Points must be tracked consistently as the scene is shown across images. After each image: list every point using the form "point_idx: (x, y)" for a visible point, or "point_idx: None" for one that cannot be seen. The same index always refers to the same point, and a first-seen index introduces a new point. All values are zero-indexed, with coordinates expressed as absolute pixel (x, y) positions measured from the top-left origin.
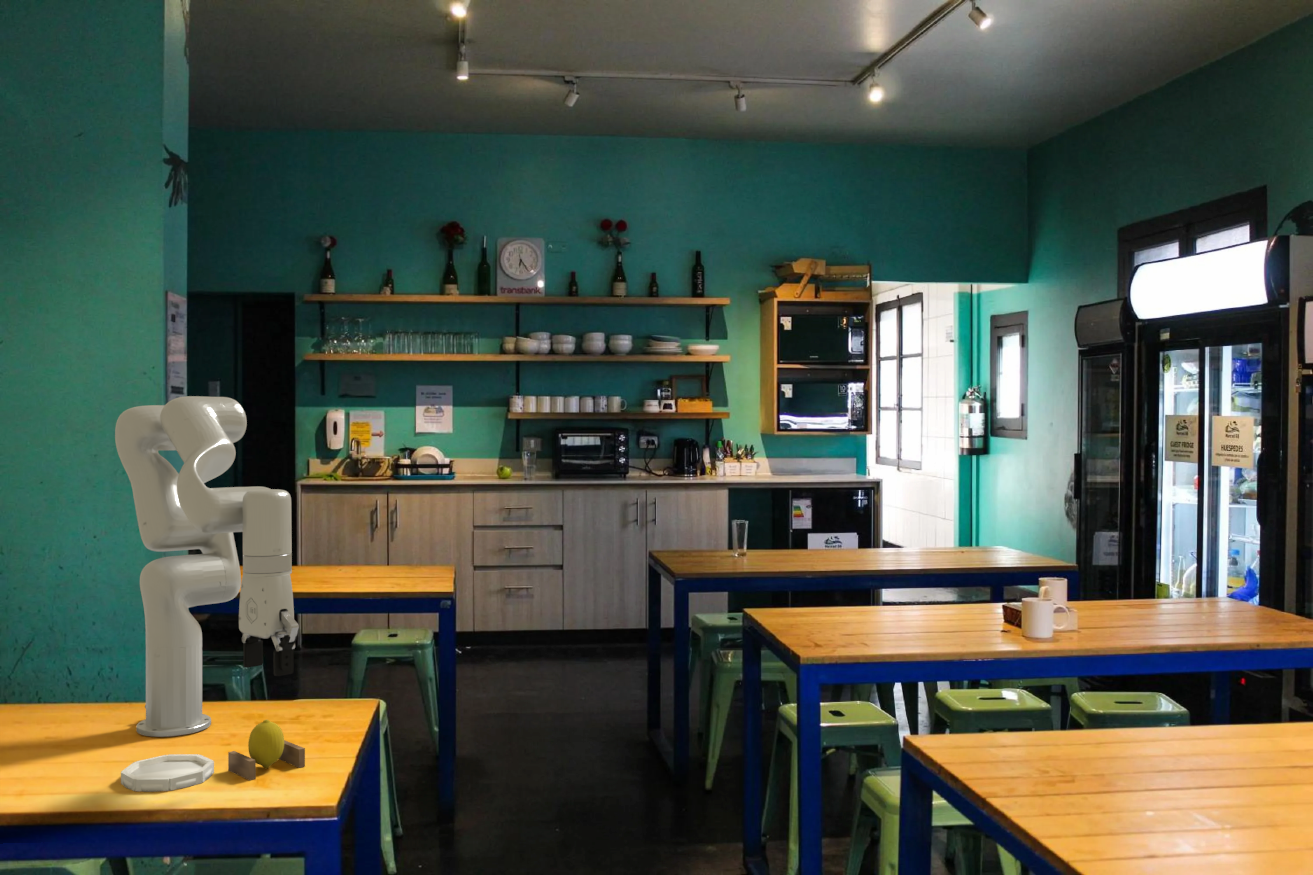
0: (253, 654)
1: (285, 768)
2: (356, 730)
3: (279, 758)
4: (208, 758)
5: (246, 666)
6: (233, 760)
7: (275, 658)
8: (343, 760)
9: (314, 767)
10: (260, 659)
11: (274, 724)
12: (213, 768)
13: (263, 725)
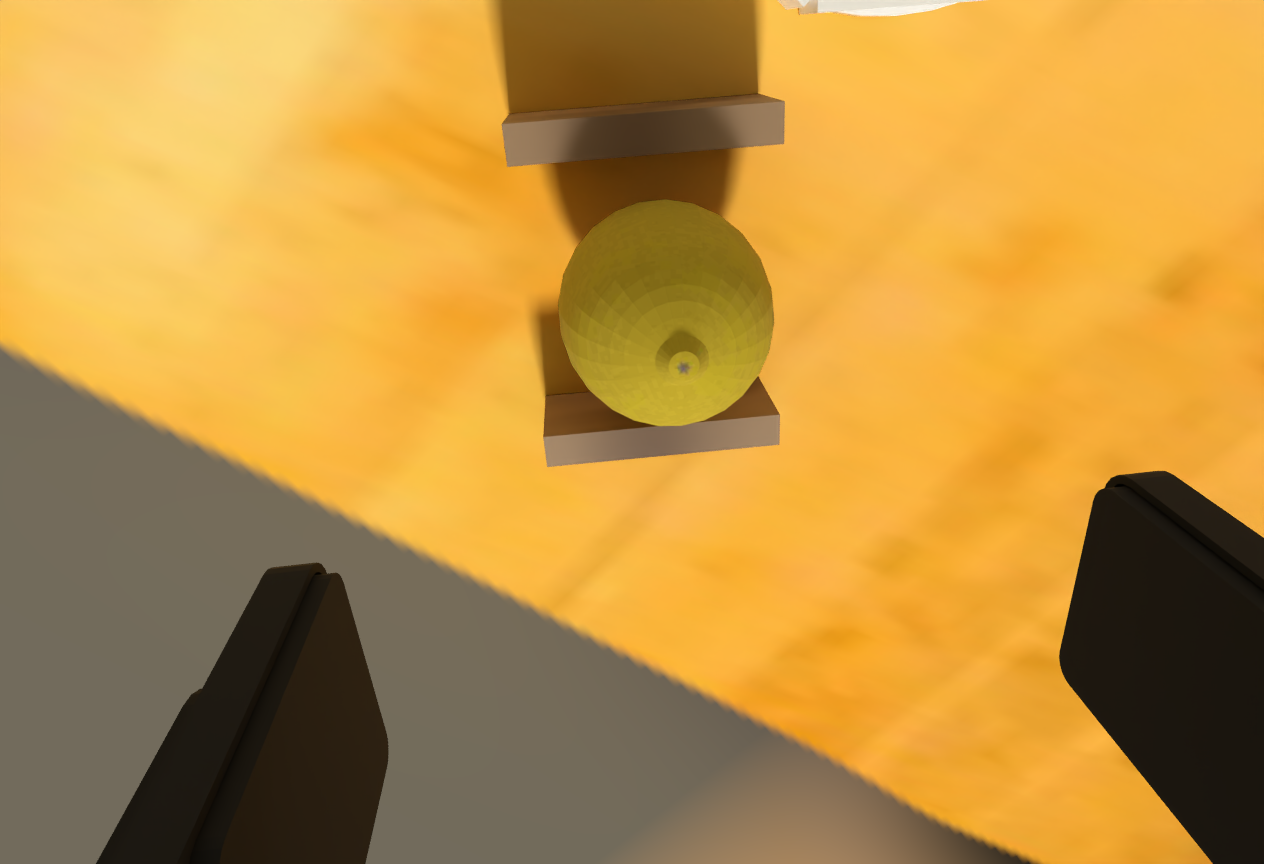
0: (1183, 674)
1: None
2: (872, 755)
3: None
4: (885, 5)
5: (1106, 487)
6: (710, 104)
7: (164, 764)
8: (520, 576)
9: (505, 449)
10: (1105, 691)
11: (638, 394)
12: (786, 2)
13: (646, 322)
